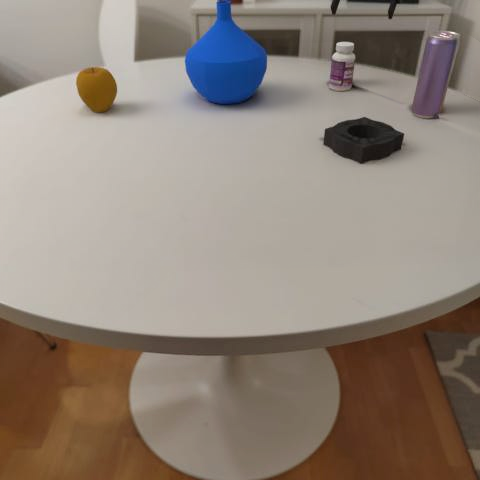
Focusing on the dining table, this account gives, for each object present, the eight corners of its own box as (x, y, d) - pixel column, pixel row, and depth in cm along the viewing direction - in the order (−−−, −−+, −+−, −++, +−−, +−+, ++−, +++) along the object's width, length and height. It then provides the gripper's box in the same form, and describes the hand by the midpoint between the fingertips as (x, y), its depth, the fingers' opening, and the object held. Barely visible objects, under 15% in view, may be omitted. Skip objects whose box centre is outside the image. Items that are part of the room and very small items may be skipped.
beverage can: (427, 121, 93) (447, 39, 83) (404, 112, 96) (421, 33, 87) (446, 114, 95) (468, 34, 85) (423, 106, 99) (441, 29, 89)
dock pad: (406, 149, 83) (410, 133, 81) (360, 166, 79) (363, 150, 77) (362, 129, 90) (364, 114, 88) (317, 143, 86) (319, 128, 84)
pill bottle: (346, 93, 107) (352, 47, 100) (325, 89, 109) (329, 45, 102) (354, 86, 110) (360, 42, 104) (334, 83, 112) (338, 39, 106)
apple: (129, 107, 103) (121, 65, 98) (101, 119, 98) (91, 76, 92) (102, 100, 107) (93, 60, 101) (74, 112, 102) (63, 70, 96)
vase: (186, 113, 100) (176, 12, 87) (190, 85, 113) (182, -5, 101) (269, 109, 100) (271, 9, 87) (263, 83, 114) (264, -8, 101)
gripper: (444, -60, 105) (415, 27, 105) (340, -62, 114) (313, 19, 114) (447, -89, 98) (415, 5, 98) (336, -88, 107) (307, -2, 107)
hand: (360, 13), depth 106 cm, fingers open, 13 cm apart
